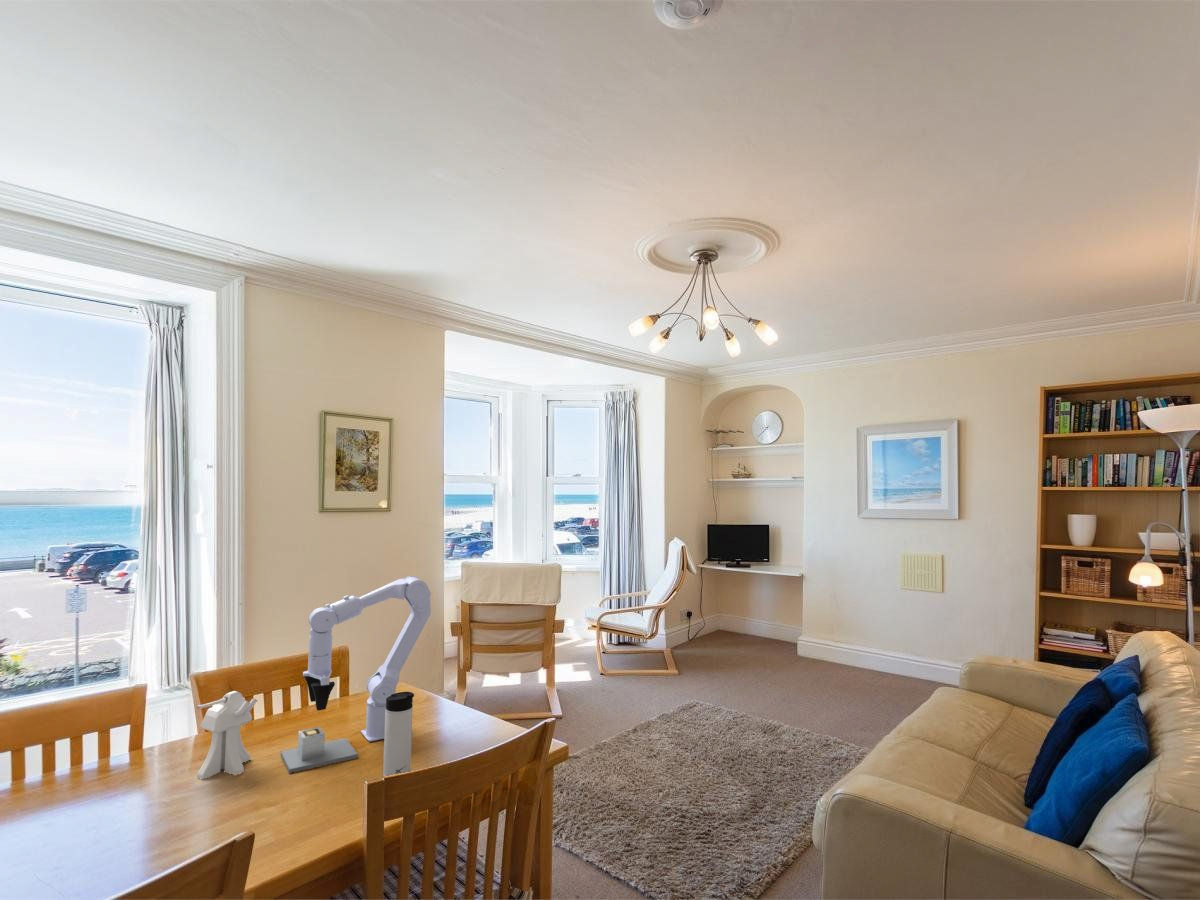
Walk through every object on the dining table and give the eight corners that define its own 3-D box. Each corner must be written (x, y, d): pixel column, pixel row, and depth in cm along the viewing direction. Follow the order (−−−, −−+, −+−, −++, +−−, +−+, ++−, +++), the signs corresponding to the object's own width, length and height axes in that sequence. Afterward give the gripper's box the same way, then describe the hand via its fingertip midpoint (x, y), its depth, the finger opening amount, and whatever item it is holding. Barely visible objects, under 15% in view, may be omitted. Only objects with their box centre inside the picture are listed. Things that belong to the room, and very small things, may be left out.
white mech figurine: (179, 774, 153) (183, 697, 154) (233, 753, 165) (237, 682, 166) (209, 786, 147) (213, 707, 148) (263, 764, 159) (266, 690, 160)
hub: (319, 748, 167) (319, 726, 167) (324, 755, 163) (324, 733, 163) (297, 753, 164) (298, 731, 164) (301, 760, 159) (302, 738, 160)
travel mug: (403, 785, 150) (406, 698, 151) (377, 782, 151) (380, 696, 152) (416, 773, 156) (419, 690, 157) (391, 770, 158) (394, 687, 158)
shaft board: (345, 741, 174) (346, 717, 174) (357, 757, 164) (358, 732, 164) (280, 755, 164) (281, 729, 165) (289, 773, 155) (290, 746, 155)
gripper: (298, 649, 176) (296, 699, 175) (309, 662, 164) (307, 716, 164) (325, 646, 180) (323, 695, 179) (338, 658, 168) (336, 711, 168)
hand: (318, 705), depth 172 cm, fingers open, 7 cm apart
